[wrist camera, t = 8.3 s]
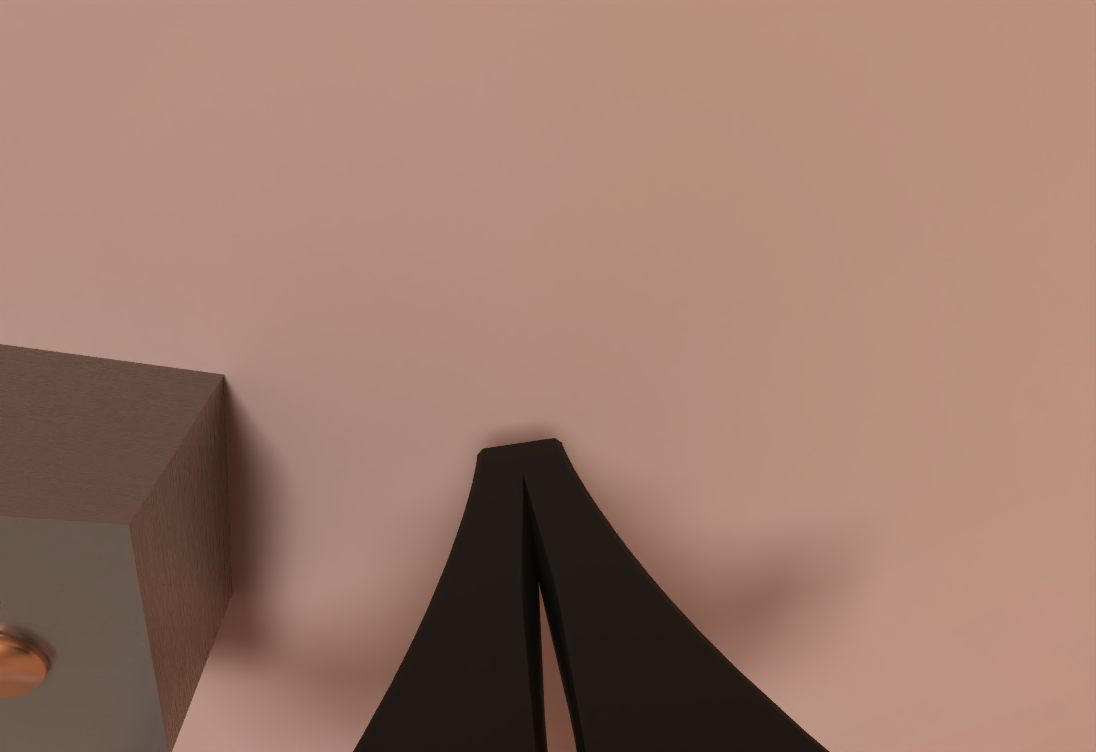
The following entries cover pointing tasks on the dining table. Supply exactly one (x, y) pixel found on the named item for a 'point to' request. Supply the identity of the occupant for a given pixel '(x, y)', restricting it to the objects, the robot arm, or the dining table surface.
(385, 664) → the dining table surface
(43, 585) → the link block
